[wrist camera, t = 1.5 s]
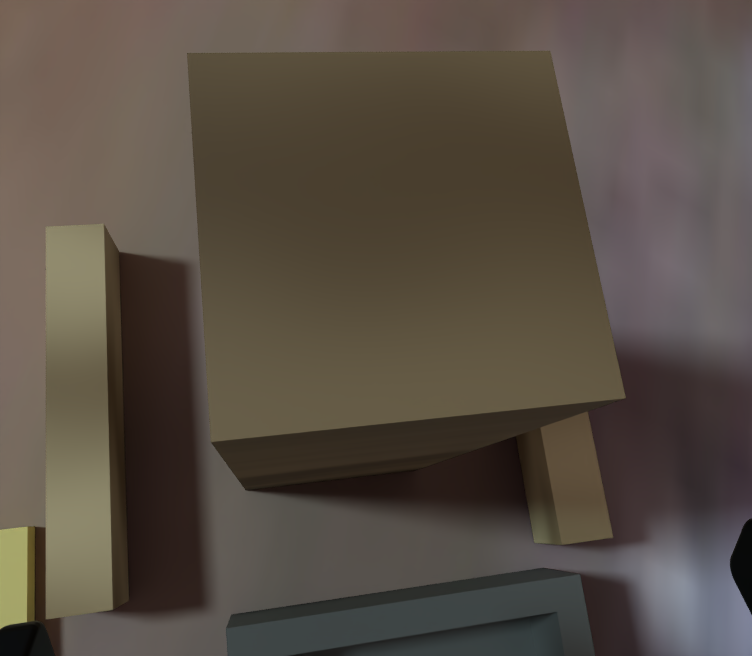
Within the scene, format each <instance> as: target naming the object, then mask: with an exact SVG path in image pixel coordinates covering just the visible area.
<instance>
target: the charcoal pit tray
mask: <svg viewBox="0 0 752 656" xmlns="http://www.w3.org/2000/svg"><path fill="white" fill-rule="evenodd" d="M226 636H227V652H228V656H595V651H594V646H593V641H592V635H591V630H590V625H589V619H588V614H587V609H586V603H585V598H584V593H583V587H582V582H581V577H580V574H576V573H570V572H564V571H558V570H552V569H546V568H539V569H532V570H526V571H519V572H512V573H506V574H499V575H492V576H486V577H479V578H473V579H466V580H459V581H453V582H446V583H439V584H433V585H426V586H419V587H413V588H406V589H399V590H393V591H386V592H379V593H373V594H366V595H359V596H353V597H346V598H339V599H333V600H326V601H319V602H313V603H306V604H299V605H293V606H286V607H279V608H273V609H266V610H259V611H253V612H246V613H239V614H233V615H231V617H230V620H229V622H228V625H227V627H226Z"/></svg>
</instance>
